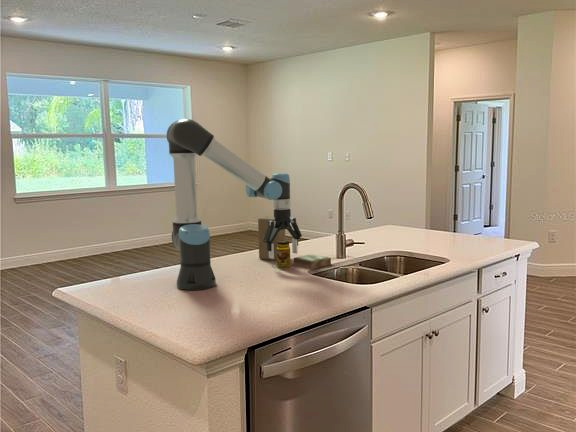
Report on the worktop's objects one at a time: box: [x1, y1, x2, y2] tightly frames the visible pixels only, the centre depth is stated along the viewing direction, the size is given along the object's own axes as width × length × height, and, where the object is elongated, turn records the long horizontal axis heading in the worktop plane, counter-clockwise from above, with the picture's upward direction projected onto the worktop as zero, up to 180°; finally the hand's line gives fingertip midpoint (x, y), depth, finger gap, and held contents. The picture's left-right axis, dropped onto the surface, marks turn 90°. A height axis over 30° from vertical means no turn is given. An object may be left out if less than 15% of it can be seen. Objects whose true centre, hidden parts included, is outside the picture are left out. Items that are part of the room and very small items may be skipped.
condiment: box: [272, 240, 295, 271], centre depth 229 cm, size 7×8×12 cm
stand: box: [293, 253, 332, 270], centre depth 234 cm, size 12×12×3 cm
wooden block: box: [257, 215, 286, 262], centre depth 247 cm, size 10×10×20 cm
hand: (283, 255), depth 229 cm, fingers open, 13 cm apart
